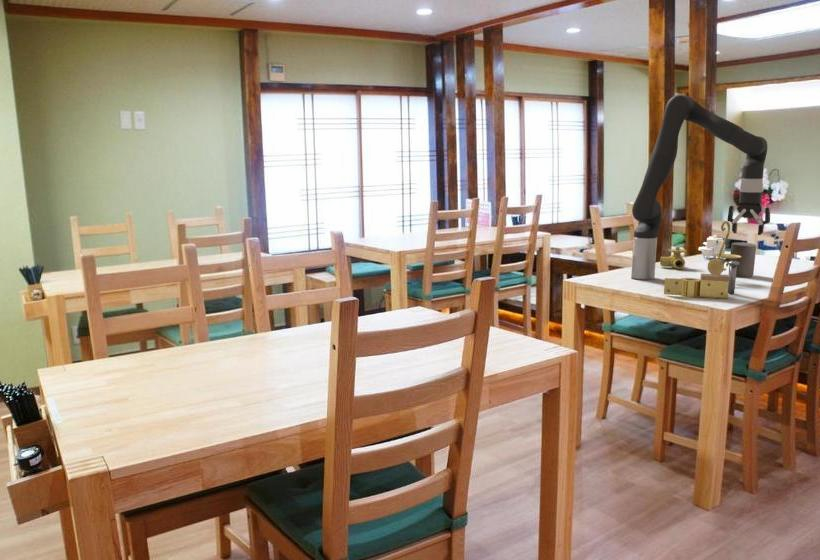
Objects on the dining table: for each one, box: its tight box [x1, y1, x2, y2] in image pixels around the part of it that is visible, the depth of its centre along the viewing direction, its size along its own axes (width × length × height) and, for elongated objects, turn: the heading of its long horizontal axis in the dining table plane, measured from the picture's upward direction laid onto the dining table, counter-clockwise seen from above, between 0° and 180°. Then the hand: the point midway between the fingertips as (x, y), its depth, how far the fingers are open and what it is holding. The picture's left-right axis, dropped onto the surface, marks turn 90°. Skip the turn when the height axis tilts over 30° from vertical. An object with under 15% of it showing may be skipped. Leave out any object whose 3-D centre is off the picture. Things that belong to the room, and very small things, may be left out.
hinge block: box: [663, 273, 729, 300], centre depth 247 cm, size 22×7×8 cm, turn 72°
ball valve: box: [659, 246, 687, 270], centre depth 307 cm, size 13×10×10 cm
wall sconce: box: [707, 220, 741, 276], centre depth 271 cm, size 14×10×25 cm
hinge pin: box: [728, 261, 739, 295], centre depth 250 cm, size 4×4×12 cm
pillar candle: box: [727, 240, 757, 278], centre depth 286 cm, size 10×10×15 cm
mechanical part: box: [698, 234, 726, 260], centre depth 331 cm, size 11×12×12 cm
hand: (747, 234), depth 254 cm, fingers open, 8 cm apart
